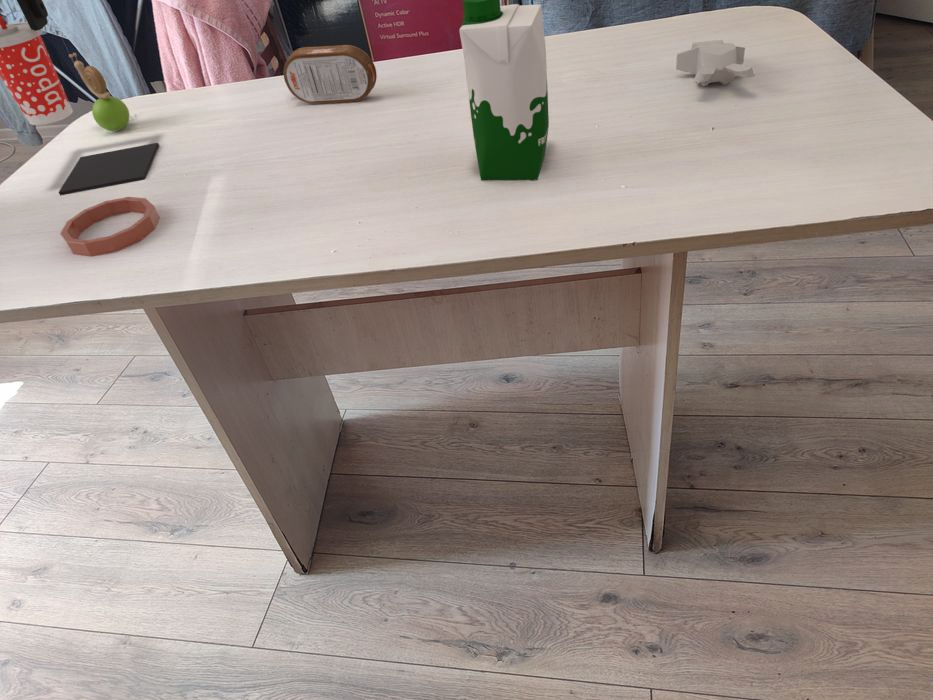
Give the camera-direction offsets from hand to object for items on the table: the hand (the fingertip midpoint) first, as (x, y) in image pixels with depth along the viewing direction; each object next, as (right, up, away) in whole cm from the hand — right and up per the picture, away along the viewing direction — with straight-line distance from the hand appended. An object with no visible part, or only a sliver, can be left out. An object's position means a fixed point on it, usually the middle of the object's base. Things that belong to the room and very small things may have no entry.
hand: (6, 30), depth 69 cm
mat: (-6, -6, +32) cm, 33 cm away
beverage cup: (+1, -7, +6) cm, 9 cm away
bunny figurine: (+83, +7, +30) cm, 88 cm away
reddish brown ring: (+4, -19, +15) cm, 24 cm away
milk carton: (+53, -10, +17) cm, 56 cm away
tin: (+26, +8, +42) cm, 50 cm away
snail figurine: (-12, +4, +45) cm, 46 cm away
